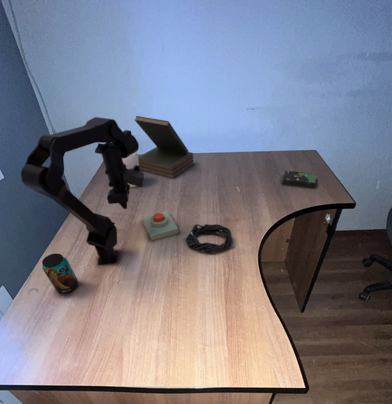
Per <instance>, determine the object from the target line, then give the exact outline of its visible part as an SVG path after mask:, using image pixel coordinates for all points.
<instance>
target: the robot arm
mask: <svg viewBox="0 0 392 404" xmlns="http://www.w3.org/2000/svg"><path fill="white" fill-rule="evenodd" d="M96 143H97V146H96V148H95V149H94V153H95V154H99V155H101V157H102V161H103V164H104V168H105V169H104V174H105V175H107V178H108V187H109V188H111V189H109V190H108V192H107V195H106V200H107V203H108V204H109V205H114V204H119V206H121V208H122V209H123V210H127V209H128V202H129V199H130V198H129V195H130V191H131V190H130V189H131V187H130V185H129V184H131V185H135V186H136V187H138V188H142V187H143V185H144V184H143V183H144V179H145V173H144V171H142V170H141V169H140V166H138V165H135V166H134V167H133V168H131V169H127V168H126V165H125V164H124V163H123V160H122V158H127V157H128V156H130V155H132V154H133V153H135V152H136V153H137V152H138V151H139V149H140V145H139V141H138V139H137V138H136V137H135V136H134V134H132V131H131V130H128V129H125V130H122V129H121V128H120V127H119V124H118V123H117V121H116V120H115V119H113V118H105V117H98V116H95V117H93V118H90V119H89V120H87V121H86V123H85V124H84V125H82V126H79V127H75V128H71V129H67V130H64V131H63V130H62V131H59V132H56V133H51V134H43V135H42V136H40V137H39V139H38V141H37V144H36V147H35V148H34V149H33V150H31V152H30V154H29V155H28V156H27V158H26V161H25V163H24V166H23V167H22V169H21V171H20V173H21V174H20V178H21V183H23V185H24V186H25V187H27V188H29V189H30V190H33V191H35V192H36V193H38V194H40V195H43V196H45V197H47V198H50V199H51V200H53V201H54V202H55V203H57V204H58V205H60V206H61V207H62V208H63V209H64V210H65V211H67V212H68V213H70V214H71V216H74V217H75V218H76V219H77V220H79V222H81V223H82V224H84V226H85V228H86V230H87V231H88V234H87V238H86V243H87V244H88V245H89V246H92V247H94V248H95V251H96V254H97V256H98V259H97V265H101V266H102V265H109V264H110V265H111V264H116V263H118V255H119V250H115V248H114V247H116V246H117V245H118V228H117V226H116V223H115V222H114V221H112V219H111V218H110V217H108V216H105V215H102V214H100V213H95V212H93V211H92V210H91V209H90V208H89V207H88V206H87V205H85V204H84V203H83V202H82V201H81V200H80V199H79V198H78V197H77V196H75V194H73V193H72V192H71V191H70V190H69V189H68V187H67V184H66V181H65V180H64V178H63V177H64V176H63V175H64V173H65V161H64V157H65V154H66V153H68V152H71V151H74V150H77V149H80V148H84V147H86V146H89V145H92V144H96ZM49 158H50V164H49V166H44V164H45V163H46V161H47V160H48V159H49ZM128 183H129V184H128Z"/></svg>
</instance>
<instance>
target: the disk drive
mask: <svg viewBox="0 0 392 404" xmlns="http://www.w3.org/2000/svg"><path fill="white" fill-rule="evenodd" d="M281 184H282V185H284V186H293V187H300V188H301V187H302V188H314V189H315V187H316V184H317V174H316V173H313V172H303V171H294V170H285V171H284V175H283V179H282V183H281Z"/></svg>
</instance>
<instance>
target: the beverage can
mask: <svg viewBox="0 0 392 404" xmlns="http://www.w3.org/2000/svg"><path fill="white" fill-rule="evenodd" d="M41 264H42V270H43V272H44V274H45V276H46V277H47V278H48V280H49V282H50V283H51V285H52V287H53V288H54V290H55V291H56V293H58V294H59V295H70V294H73V293H74V292H76V290H77V289H78V288H79V286H80V282H79V280H78V277H77V276H76V274H75V272H74V270H73V268H72V266H71V265H70V262H69V260H68V259H67V258H66V257H64V256H63V255H62V254H61V253H57V252H55V253H51V254H48V255H46V256H45V257H44V258H43V259H42V260H41Z"/></svg>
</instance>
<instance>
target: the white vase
mask: <svg viewBox="0 0 392 404" xmlns="http://www.w3.org/2000/svg"><path fill="white" fill-rule="evenodd" d="M138 157H139V156H138V153H137V152H135V153H133V154H132V155H130V156H128V157H127V158H122V160H123V163H124V164H125V165H126V168H127V169H131V168H133V167H134V166H135V165H138V166H139V159H138ZM128 184H129V183H128ZM129 185H130V188H137V186H135V185H131V184H129Z"/></svg>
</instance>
